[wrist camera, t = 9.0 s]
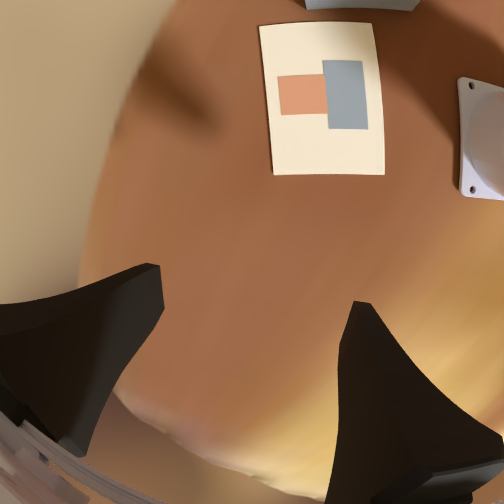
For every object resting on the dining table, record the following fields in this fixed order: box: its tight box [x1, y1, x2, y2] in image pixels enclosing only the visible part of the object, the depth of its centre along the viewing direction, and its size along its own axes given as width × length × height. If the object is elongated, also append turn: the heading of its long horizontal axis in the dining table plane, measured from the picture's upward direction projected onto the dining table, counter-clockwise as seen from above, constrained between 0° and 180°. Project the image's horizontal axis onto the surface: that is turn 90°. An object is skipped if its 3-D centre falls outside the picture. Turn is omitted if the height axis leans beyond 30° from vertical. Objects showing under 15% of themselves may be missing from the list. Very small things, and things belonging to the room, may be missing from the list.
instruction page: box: [259, 22, 385, 175], centre depth 15 cm, size 7×10×1 cm
